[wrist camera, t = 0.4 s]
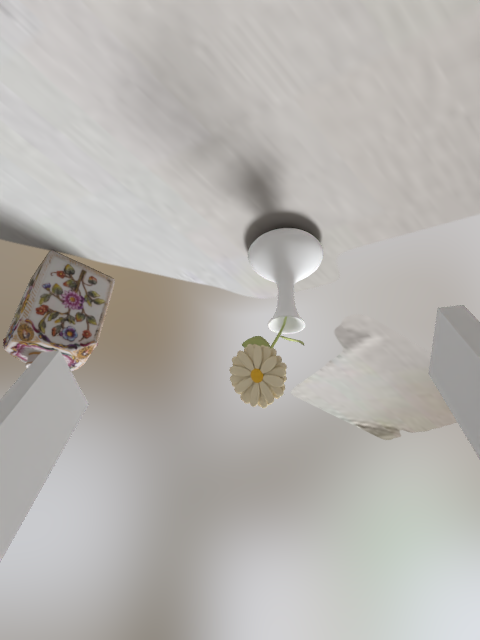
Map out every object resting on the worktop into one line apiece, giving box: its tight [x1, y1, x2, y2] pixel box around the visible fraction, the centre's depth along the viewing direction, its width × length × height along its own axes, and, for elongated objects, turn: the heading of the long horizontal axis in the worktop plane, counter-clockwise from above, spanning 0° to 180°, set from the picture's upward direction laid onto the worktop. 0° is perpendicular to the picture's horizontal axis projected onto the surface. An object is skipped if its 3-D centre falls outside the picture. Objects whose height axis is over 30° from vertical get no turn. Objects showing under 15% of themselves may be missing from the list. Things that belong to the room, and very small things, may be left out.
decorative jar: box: [3, 250, 115, 370], centre depth 60 cm, size 12×12×18 cm
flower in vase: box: [230, 228, 324, 408], centre depth 49 cm, size 13×11×25 cm
